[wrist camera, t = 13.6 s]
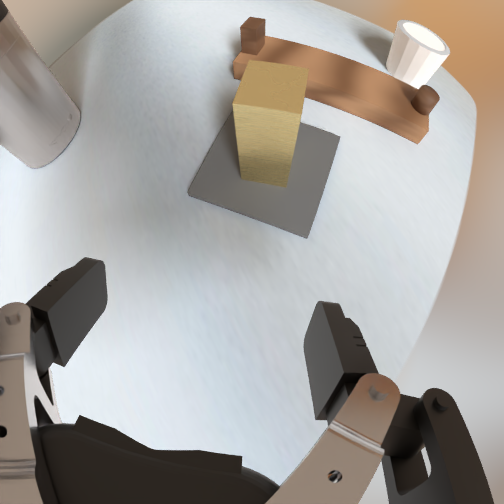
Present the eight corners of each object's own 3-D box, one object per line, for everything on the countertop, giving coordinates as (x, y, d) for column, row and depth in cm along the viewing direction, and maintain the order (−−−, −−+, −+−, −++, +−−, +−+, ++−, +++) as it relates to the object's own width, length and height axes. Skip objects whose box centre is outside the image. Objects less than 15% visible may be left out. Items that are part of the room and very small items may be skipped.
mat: (189, 195, 22) (187, 192, 22) (236, 107, 24) (236, 103, 24) (306, 238, 21) (308, 236, 21) (338, 140, 23) (340, 136, 23)
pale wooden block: (241, 179, 22) (232, 103, 13) (252, 139, 23) (249, 59, 14) (286, 187, 22) (301, 114, 13) (293, 146, 23) (308, 68, 14)
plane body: (234, 78, 25) (230, 35, 19) (255, 49, 26) (254, 10, 21) (418, 144, 23) (446, 110, 18) (420, 108, 25) (442, 75, 19)
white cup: (374, 70, 26) (391, 28, 19) (388, 50, 27) (403, 13, 20) (423, 100, 25) (448, 62, 18) (431, 77, 26) (452, 43, 19)
